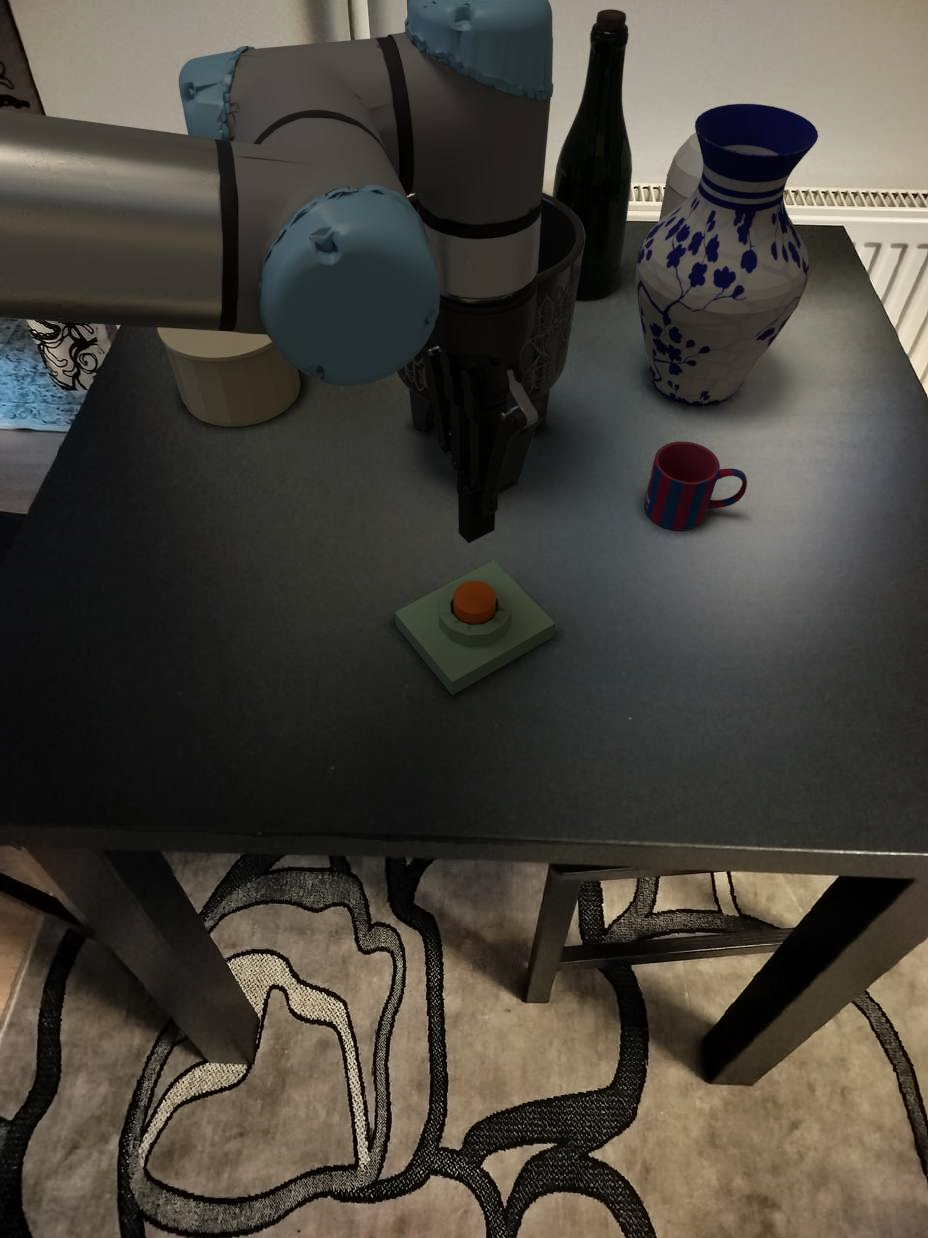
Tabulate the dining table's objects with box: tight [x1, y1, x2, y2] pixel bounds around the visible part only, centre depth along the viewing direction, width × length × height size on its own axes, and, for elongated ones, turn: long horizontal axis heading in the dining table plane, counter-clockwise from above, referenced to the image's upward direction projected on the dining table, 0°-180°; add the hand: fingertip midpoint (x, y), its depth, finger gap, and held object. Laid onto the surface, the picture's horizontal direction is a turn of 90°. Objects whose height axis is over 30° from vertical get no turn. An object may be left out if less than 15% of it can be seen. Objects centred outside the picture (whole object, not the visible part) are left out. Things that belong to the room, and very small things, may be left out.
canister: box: [164, 345, 302, 428], centre depth 104 cm, size 15×15×10 cm
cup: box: [643, 441, 748, 531], centre depth 92 cm, size 7×10×7 cm
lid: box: [156, 327, 274, 362], centre depth 97 cm, size 16×16×9 cm
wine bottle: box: [551, 8, 633, 300], centre depth 110 cm, size 10×10×33 cm
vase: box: [635, 103, 819, 408], centre depth 97 cm, size 19×19×30 cm
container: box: [658, 132, 703, 222], centre depth 117 cm, size 14×13×20 cm
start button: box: [453, 581, 496, 625], centre depth 81 cm, size 4×4×2 cm
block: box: [394, 559, 556, 696], centre depth 83 cm, size 12×10×4 cm
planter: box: [396, 191, 586, 434], centre depth 91 cm, size 20×20×26 cm
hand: (476, 531), depth 73 cm, fingers closed
